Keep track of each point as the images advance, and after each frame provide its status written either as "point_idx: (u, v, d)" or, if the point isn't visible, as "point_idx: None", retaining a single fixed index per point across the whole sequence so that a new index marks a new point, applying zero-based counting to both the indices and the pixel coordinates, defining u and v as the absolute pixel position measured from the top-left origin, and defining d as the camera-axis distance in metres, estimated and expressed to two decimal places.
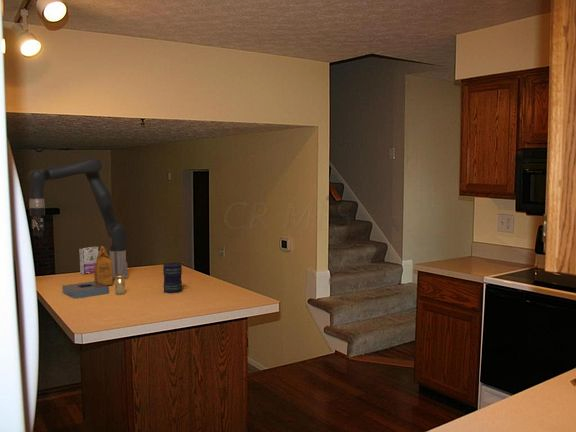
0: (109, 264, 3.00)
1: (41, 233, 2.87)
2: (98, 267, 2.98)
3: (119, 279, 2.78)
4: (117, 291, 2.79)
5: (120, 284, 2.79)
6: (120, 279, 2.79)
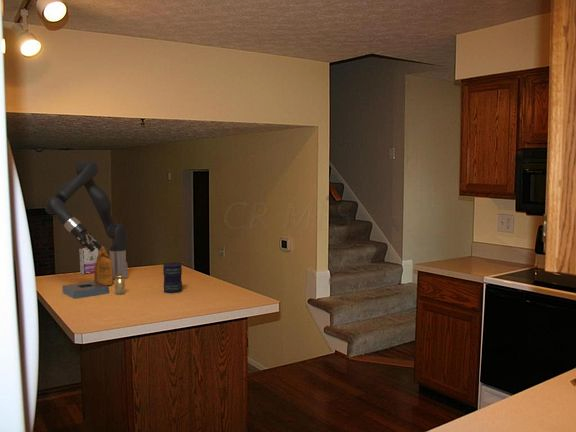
0: (109, 264, 3.00)
1: (90, 247, 2.75)
2: (98, 267, 2.98)
3: (119, 279, 2.78)
4: (117, 291, 2.79)
5: (120, 284, 2.79)
6: (120, 279, 2.79)
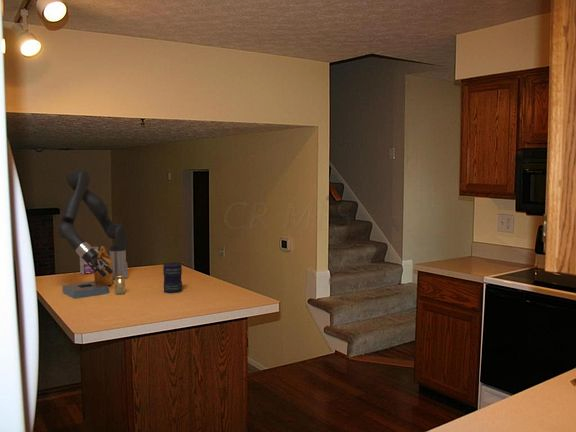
0: (109, 264, 3.00)
1: (101, 273, 2.75)
2: None
3: (119, 279, 2.78)
4: (117, 291, 2.79)
5: (120, 284, 2.79)
6: (120, 279, 2.79)
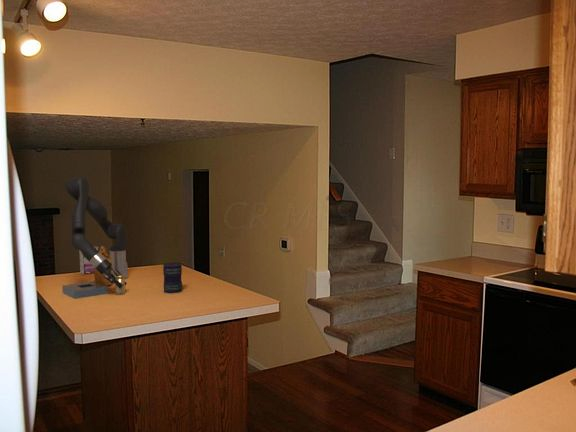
0: None
1: (118, 284, 2.77)
2: None
3: (119, 279, 2.78)
4: (117, 291, 2.79)
5: None
6: (120, 279, 2.79)
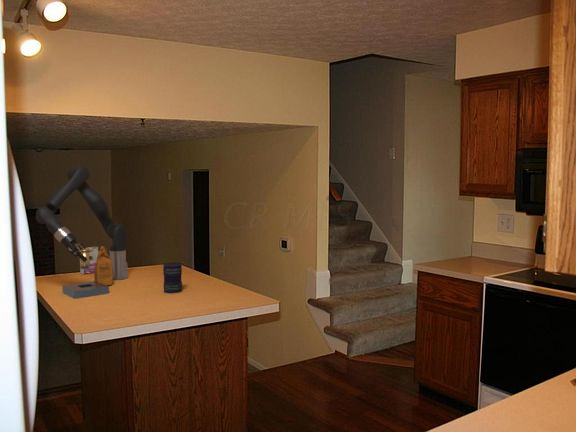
0: (109, 264, 3.00)
1: (82, 258, 2.78)
2: (98, 267, 2.98)
3: (83, 253, 2.79)
4: (81, 265, 2.80)
5: None
6: (84, 253, 2.79)
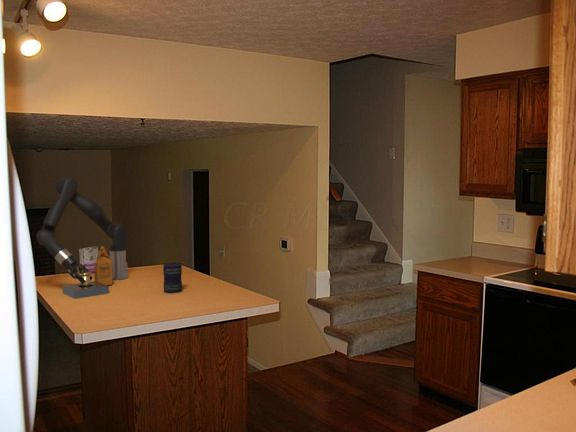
0: (109, 264, 3.00)
1: (80, 280, 2.77)
2: (98, 267, 2.98)
3: (84, 276, 2.80)
4: None
5: (85, 282, 2.81)
6: (85, 276, 2.80)
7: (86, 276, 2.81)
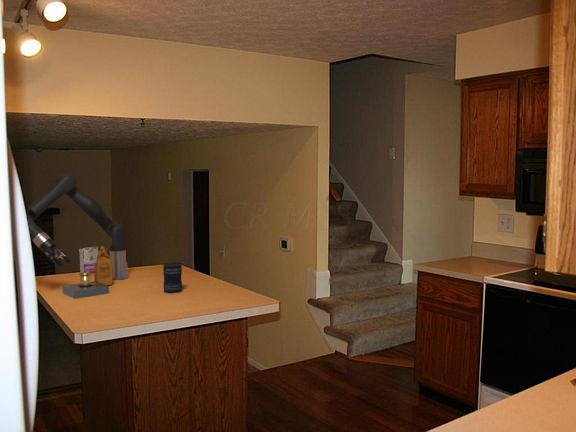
0: (109, 264, 3.00)
1: (58, 262, 2.77)
2: (98, 267, 2.98)
3: (84, 276, 2.80)
4: None
5: (85, 282, 2.81)
6: (85, 276, 2.80)
7: (86, 276, 2.81)
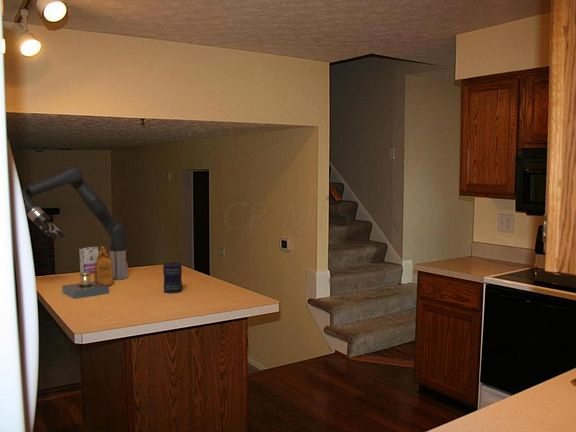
0: (109, 264, 3.00)
1: (52, 236, 2.83)
2: (98, 267, 2.98)
3: (84, 276, 2.80)
4: None
5: (85, 282, 2.81)
6: (85, 276, 2.80)
7: (86, 276, 2.81)
